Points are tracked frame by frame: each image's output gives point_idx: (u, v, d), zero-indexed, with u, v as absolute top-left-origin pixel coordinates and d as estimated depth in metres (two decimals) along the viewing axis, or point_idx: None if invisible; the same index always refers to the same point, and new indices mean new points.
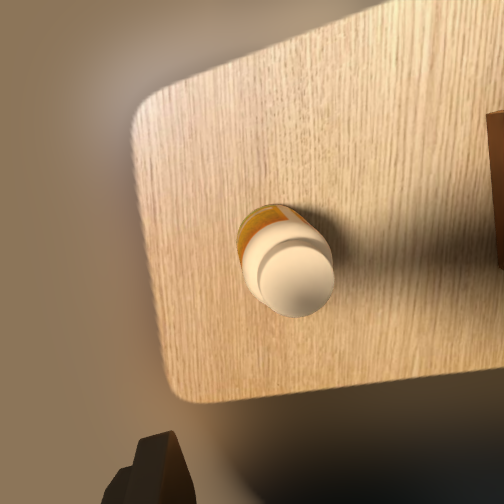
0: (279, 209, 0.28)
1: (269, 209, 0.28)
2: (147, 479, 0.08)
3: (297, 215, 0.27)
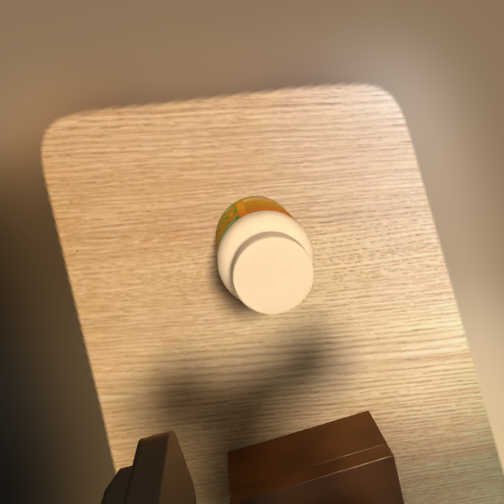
0: None
1: None
2: (147, 479, 0.08)
3: None
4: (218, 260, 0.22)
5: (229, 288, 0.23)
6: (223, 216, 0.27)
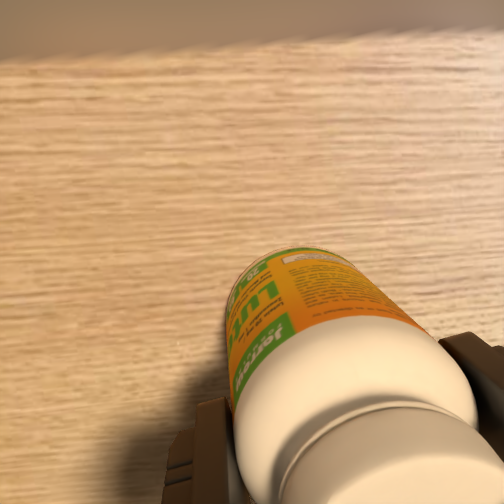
0: None
1: None
2: (211, 436, 0.09)
3: None
4: (238, 442, 0.09)
5: None
6: (242, 289, 0.13)
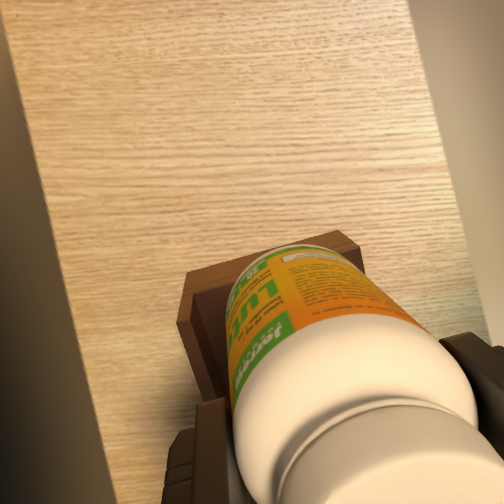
0: None
1: None
2: (211, 436, 0.09)
3: None
4: (238, 440, 0.09)
5: None
6: (242, 288, 0.13)
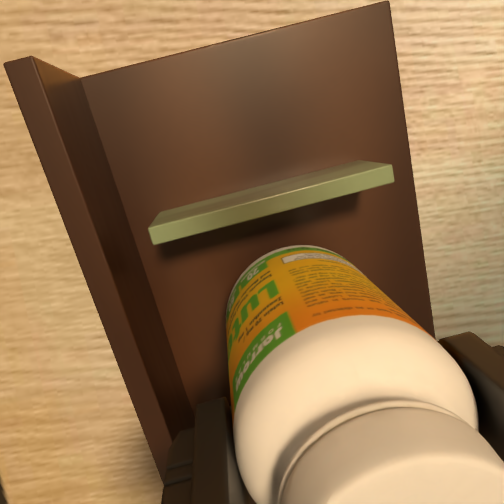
0: None
1: None
2: (211, 436, 0.09)
3: None
4: (238, 442, 0.09)
5: None
6: (242, 288, 0.13)
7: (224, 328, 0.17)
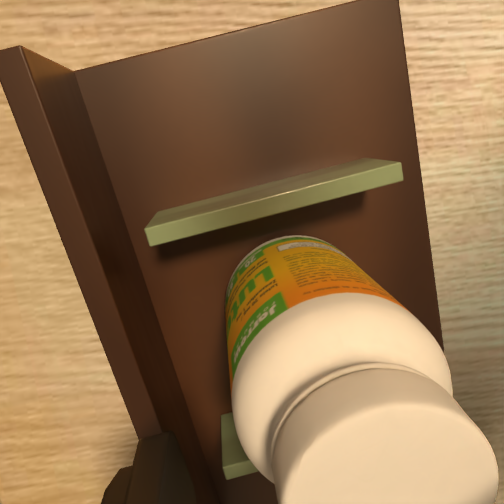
0: None
1: None
2: (147, 479, 0.08)
3: None
4: (236, 406, 0.10)
5: (259, 468, 0.10)
6: (240, 275, 0.14)
7: (224, 332, 0.17)
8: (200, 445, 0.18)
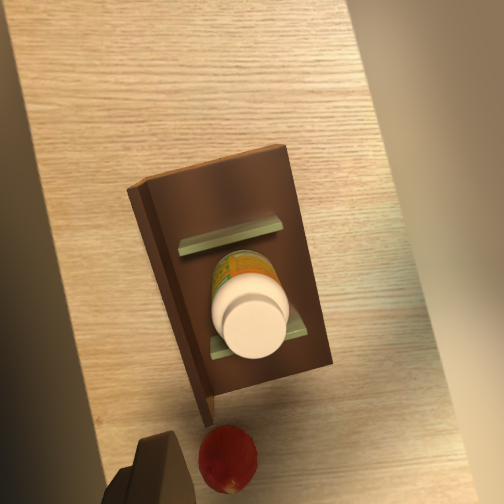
0: None
1: None
2: (147, 479, 0.08)
3: None
4: (212, 311, 0.28)
5: (220, 334, 0.28)
6: (218, 268, 0.33)
7: None
8: (200, 352, 0.37)
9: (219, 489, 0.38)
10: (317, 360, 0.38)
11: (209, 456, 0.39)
